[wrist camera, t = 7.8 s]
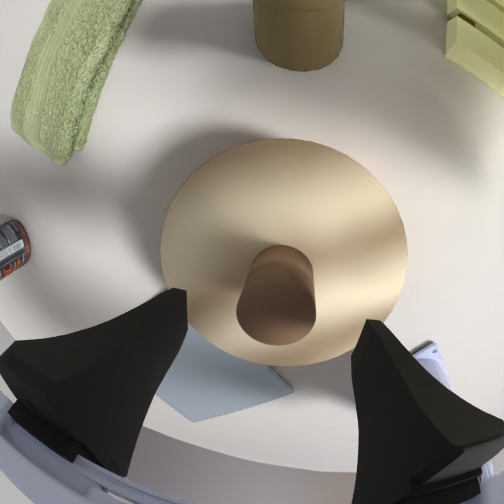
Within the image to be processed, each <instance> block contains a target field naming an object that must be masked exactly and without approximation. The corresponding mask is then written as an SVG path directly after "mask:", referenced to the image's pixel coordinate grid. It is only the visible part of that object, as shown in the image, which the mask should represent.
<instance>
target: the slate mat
mask: <svg viewBox="0 0 504 504" xmlns="http://www.w3.org/2000/svg"><path fill="white" fill-rule="evenodd" d="M293 390H294V389H293V388H292V387H291V386H290V385H289V384H288V383H287V382H286V381H284V380H283V379H282V378H281V377H280V376H279V375H278V374H277V373H276V372H275V371H274V370H273V369H272V368H270V367H269V366H268V365H263V364H258V363H254V362H250V361H247V360H244V359H241V358H238V357H236V356H233V355H231V354H229V353H227V352H225V351H223V350H221V349H220V348H218V347H216V346H215V345H213V344H212V343H210V342H209V341H207V340H206V339H205V338H204V337H203V336H201V335H200V334H199V333H198V332H197V331H196V330H195V329H194V328H193V327H192V326H191V325H190V324H189V323H188V331H187V334H186V336H185V339H184V341H183V344H182V346H181V349H180V351H179V352H178V354H177V356H176V358H175V360H174V361H173V363H172V365H171V367H170V368H169V370H168V372H167V373H166V375H165V377H164V379H163V380H162V382H161V384H160V386H159V387H158V389H157V391H156V393H155V394H156V395H157V396H158V397H160V398H161V399H162V400H163V401H165V402H166V403H167V404H169V405H170V406H171V407H172V408H174V409H175V410H176V411H178V412H179V413H180V414H182V415H183V416H184V417H186V418H187V419H189V420H190V421H191V422H193V423H194V422H198V421H202V420H206V419H210V418H214V417H218V416H222V415H226V414H229V413H233V412H236V411H240V410H243V409H246V408H250V407H253V406H256V405H259V404H262V403H265V402H268V401H271V400H274V399H277V398H280V397H282V396H285V395H288V394H290V393H293Z"/></svg>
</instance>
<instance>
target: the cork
mask: <svg viewBox="0 0 504 504" xmlns="http://www.w3.org/2000/svg"><path fill="white" fill-rule="evenodd" d="M345 1H346V0H253V7H254V23H255V38H256V41H257V44H258V48H259V49H260V51H261V52H262V53H263V55H264V56H265V57H266V58H267V59H268V60H270V61H271V62H273V63H274V64H276V65H277V66H280V67H282V68H285V69H288V70H292V71H303V72H306V71H312V70H318V69H320V68H322V67H324V66H327V65H329V64H330V63H331V62H332V61H333V60H334V59H335V58H336V57H337V56H338V55H339V53H340V51H341V48H342V46H343V29H344V2H345Z"/></svg>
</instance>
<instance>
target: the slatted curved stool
mask: <svg viewBox="0 0 504 504" xmlns="http://www.w3.org/2000/svg"><path fill="white" fill-rule="evenodd" d="M447 15H448V16H449V17H451V18H453V19H451V20H450V21H448V22H447V27H446V45H445V58H447V59H449V60H451V61H452V62H454V63H455V64H457V65H459V66H460V67H462V68H463V69H465V70H466V71H468V72H469V73H471V74H472V75H474V76H475V77H477V78H478V79H480V80H481V81H482V82H484V83H485V84H486V85H488V86H489V87H490V88H492V89H493V90H494V91H496V92H497V93H498V94H499V95H501V96H502V97H503V98H504V0H447Z"/></svg>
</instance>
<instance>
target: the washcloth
mask: <svg viewBox="0 0 504 504" xmlns="http://www.w3.org/2000/svg"><path fill="white" fill-rule="evenodd" d="M142 1H143V0H51V1H50V3H49V5H48V8H47V10H46V12H45V16H44V18H43V21H42V23H41V25H40V27H39V29H38V31H37V33H36V35H35V36H34V38H33V41H32V43H31V47H30V50H29V52H28V55H27V58H26V61H25V65H24V68H23V71H22V74H21V77H20V80H19V83H18V86H17V89H16V92H15V96H14V99H13V103H12V107H11V126H12V129H13V131H14V132H15V133H17V134H19V135H20V136H21V137H22V138H23V139H24V140H25V141H27V142H28V143H29V144H30V145H31V146H32V147H33V148H35V149H40V150H42V151H43V152H45V153H46V154H47V155H49V157H50V158H51V159H52V161H53V162H54V163H56V164H58V165H64V164H66V163H67V161H68V160H70V157H71V156H72V150H82V149H83V148H84V145H85V143H86V142H87V141H86V139H87V133H88V132H89V127H90V126H91V121H92V116H93V113H94V110H95V108H96V105H97V102H98V99H99V95H100V92H101V88H102V87H103V86H104V82H105V80H106V77H107V76H108V72H109V69H110V67H111V65H112V61H113V60H114V57H115V55H116V53H117V51H118V47H119V46H120V44H121V42H122V41H123V37H124V36H125V35H126V34H125V33H126V30H127V28H128V27H129V24H130V23H131V20H132V19H133V18H134V16H135V14H136V11H137V9H138V7H139V6H140V5H141V3H142Z"/></svg>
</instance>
